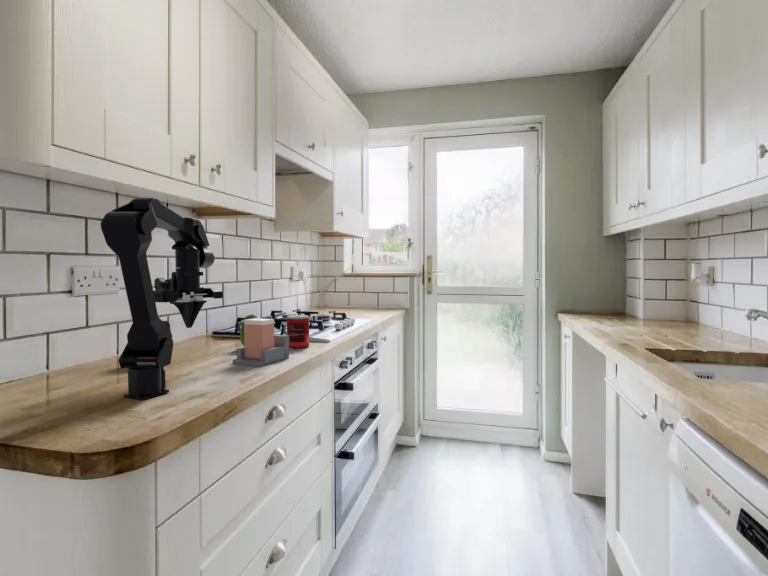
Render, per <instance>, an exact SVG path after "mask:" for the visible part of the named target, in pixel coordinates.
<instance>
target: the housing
mask: <svg viewBox="0 0 768 576" xmlns="http://www.w3.org/2000/svg"><path fill="white" fill-rule="evenodd" d="M287 359H290V348H289V336H288V335H287V334H286V335H285V334H275V333H274V348H270V349H266V350H262V351H261V359H253V358H245V350H244V346H241V347H237V348H236V358H235V359H232V364H234V363H235V364H236V365H243V364H244V366H251V367H262V366H266V365H269V364H272V363H278V362H280V361H282V360H287Z"/></svg>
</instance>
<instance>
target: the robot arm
mask: <svg viewBox="0 0 768 576" xmlns="http://www.w3.org/2000/svg"><path fill="white" fill-rule="evenodd" d="M157 226H158V227H159V228H162V229H164V230H165V231H167V236H168V237H169V238H170V239H171V240H173V241H174V243H173V245H171V249H172V250H174V257H175V259H174V261H175V271H171V272H172V273H171V274H170V276H171V277H170V278H168V279H166V278H164V277H156V278H155V279H154V281H153V282H154V284H153V283H152V278H151V277H152V276H151V272H150V268H149V267H150V266H149V263H148V258H147V251H148V249H149V247H150V245H151V243H152V240H153V236H152V235H153V234H152V232H153V231H154V230H155V229H156V227H157ZM100 229H101V232H102V235H103V238H104V240H105V243H106V245H107V247H109V249H110V250H111V251H112V252H113V253H114V254H115V255H116V256H117V257H118V260H119V265H120V270H121V273H122V274H121V276H122V278H123V283H124V287H125V291H126V292H125V294H126V297H127V302H128V306H129V312H130V316H131V322H132V323H131V325H130V328H129V330H128V332H127V334H126V340H127V343H126V345H125V347H124V349H123V351H122V353H121V354H120V356H119V358H118V364H119V367H120V369H127V390H128V391H127V392H126V393H123V397H125V398H131V399H136V400H147V399H150V398H154V397H157V396H161V395H164V394H168V393H169V392H170V389H167V388H166V387H167V385H166V383H167V382H166V370H165V367H166V366H169V365H171V363H172V362H171V361H172V355H173V350H174V339H173V334H172V330H171V324H170V322H169V321H168V320H162V319H161V318H160V317H159V314H158V308H157V303H169V304H171V305H174V306H175V308H177V310H178V311H179V314H180V315H181V318H182V321H183V323H184V325H185V327H186V329H192V327H193V326H194V323H195V321H196V319H197V317H198V315H199V313H200V311H201V309H202V308H203V306H204V305H205V303H207V302H208V301H207V300H204V299H206V298H209V299H211V298H212V299H223V298H224V291H223V290H222V288H221V287H203V286H202V287H201V277H202V276H204V271H200V269H207V268H210V267H211V266H213V265H214V263H215V259H216V258H215V255H214V252H213V251H212V250H211V249H209V248H208V247H209V246H210V242H209V240H208V235H207V234H206V230H205V227H204V225H203V224H202V222H201V221H200V220H199V219H198V218H194V217H187V216H183V215H180V214H179V213H177V212H175V211H174V210H172V209H171V208H169V207H167V206H166V205H165V204H162V203H161V201H160V200H159V199H158V198H155V197H135V198H133V199H131V200H130V201H129V202H128V203H126V204H123V205H121V206H118V207H117V208H114V209H112V210H111V211H109V212H106V213H105V214H104V216H103V217H102V219H101V221H100ZM153 285H154V289H155V290H154V289H153Z"/></svg>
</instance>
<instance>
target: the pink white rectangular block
mask: <svg viewBox="0 0 768 576" xmlns="http://www.w3.org/2000/svg"><path fill="white" fill-rule="evenodd" d="M243 321H244V345H243V347H244V350H245V358H253V359H261V351H262V350H266V349H270V348H274V334H275V319H274V318H260V317H259V318H258V317H257V318H254V319H247V320H244V319H243Z"/></svg>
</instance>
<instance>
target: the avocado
mask: <svg viewBox="0 0 768 576" xmlns="http://www.w3.org/2000/svg"><path fill="white" fill-rule="evenodd" d="M254 318H258V316H257V315H255V314H248V315H245V317H244V319H243V321H242V324H241V327H240V329H239V340H240V343H241V345H242V346H244V320H247V319H254Z"/></svg>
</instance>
